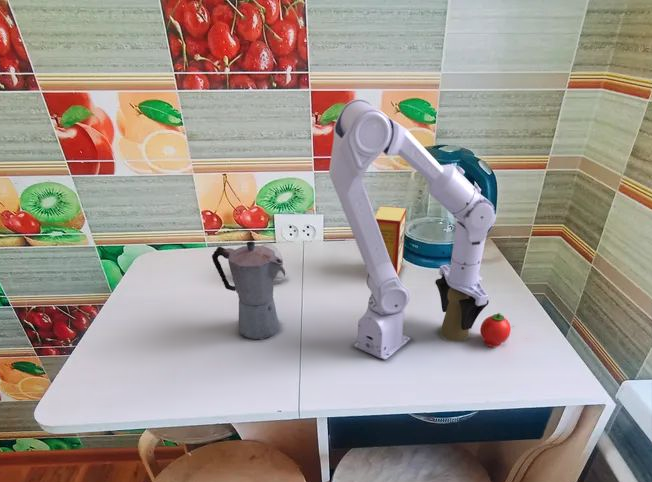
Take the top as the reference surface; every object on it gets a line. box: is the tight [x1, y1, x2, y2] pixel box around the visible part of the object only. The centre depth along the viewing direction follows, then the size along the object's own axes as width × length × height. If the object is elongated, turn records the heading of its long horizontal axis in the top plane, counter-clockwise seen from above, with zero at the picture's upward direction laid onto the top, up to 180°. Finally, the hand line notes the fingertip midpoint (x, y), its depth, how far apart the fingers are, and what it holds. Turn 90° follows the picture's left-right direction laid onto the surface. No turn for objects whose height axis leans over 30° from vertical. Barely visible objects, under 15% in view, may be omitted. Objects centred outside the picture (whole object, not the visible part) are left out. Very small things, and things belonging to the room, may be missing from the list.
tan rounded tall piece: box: [439, 287, 470, 342], centre depth 97 cm, size 6×6×11 cm
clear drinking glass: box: [260, 242, 287, 285], centre depth 118 cm, size 11×8×8 cm
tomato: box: [479, 312, 512, 348], centre depth 95 cm, size 6×6×7 cm
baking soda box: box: [374, 205, 407, 277], centre depth 118 cm, size 10×6×16 cm
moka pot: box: [211, 241, 284, 340], centre depth 95 cm, size 10×15×20 cm, turn 78°
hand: (456, 319), depth 98 cm, fingers open, 7 cm apart
